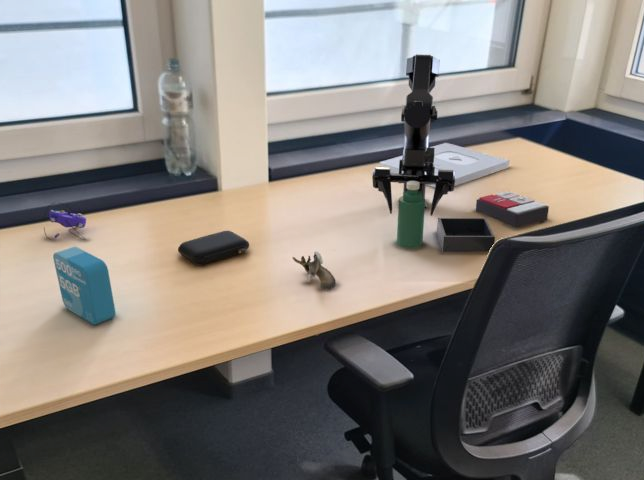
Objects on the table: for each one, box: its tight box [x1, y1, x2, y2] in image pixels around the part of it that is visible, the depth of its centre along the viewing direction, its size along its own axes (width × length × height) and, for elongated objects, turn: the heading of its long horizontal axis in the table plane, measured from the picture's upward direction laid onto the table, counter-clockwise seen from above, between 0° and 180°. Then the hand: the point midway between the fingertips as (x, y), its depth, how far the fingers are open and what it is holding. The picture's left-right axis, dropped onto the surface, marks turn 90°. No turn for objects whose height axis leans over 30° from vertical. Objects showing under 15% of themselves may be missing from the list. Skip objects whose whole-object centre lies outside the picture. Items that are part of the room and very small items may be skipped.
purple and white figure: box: [43, 202, 87, 241], centre depth 179 cm, size 10×8×10 cm
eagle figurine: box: [291, 251, 337, 291], centre depth 157 cm, size 8×7×9 cm
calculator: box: [475, 190, 550, 229], centre depth 190 cm, size 11×4×15 cm
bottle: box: [396, 181, 426, 249], centre depth 172 cm, size 6×6×15 cm
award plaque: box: [378, 142, 510, 189], centre depth 222 cm, size 25×30×2 cm
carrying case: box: [177, 230, 250, 266], centre depth 170 cm, size 11×3×15 cm
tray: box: [436, 217, 496, 253], centre depth 176 cm, size 12×12×4 cm
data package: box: [52, 246, 117, 326], centre depth 143 cm, size 12×4×12 cm, turn 47°
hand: (411, 214), depth 171 cm, fingers open, 9 cm apart
